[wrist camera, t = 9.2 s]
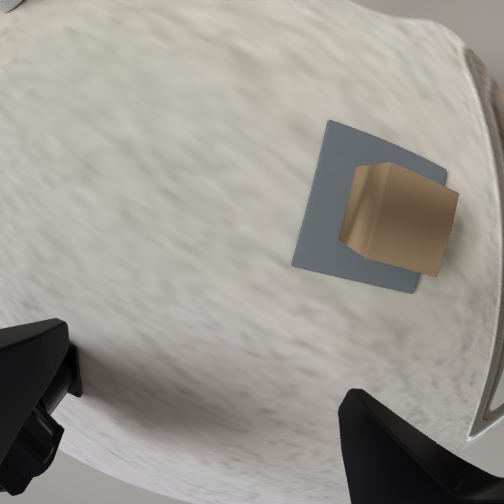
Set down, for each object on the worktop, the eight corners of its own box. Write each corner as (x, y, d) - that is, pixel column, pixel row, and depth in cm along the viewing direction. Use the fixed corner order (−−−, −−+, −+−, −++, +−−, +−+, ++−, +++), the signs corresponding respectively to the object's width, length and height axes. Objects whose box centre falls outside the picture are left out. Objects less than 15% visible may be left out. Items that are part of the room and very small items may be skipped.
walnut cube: (398, 256, 19) (436, 277, 14) (337, 239, 18) (366, 258, 13) (416, 189, 18) (458, 193, 13) (356, 166, 17) (390, 162, 12)
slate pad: (409, 291, 20) (412, 293, 19) (290, 264, 19) (291, 266, 19) (442, 169, 18) (446, 169, 17) (327, 121, 17) (329, 119, 17)
